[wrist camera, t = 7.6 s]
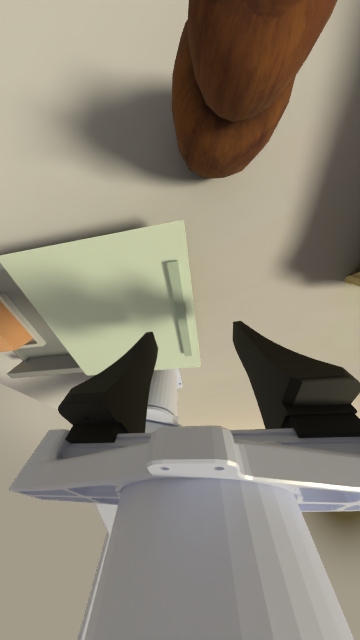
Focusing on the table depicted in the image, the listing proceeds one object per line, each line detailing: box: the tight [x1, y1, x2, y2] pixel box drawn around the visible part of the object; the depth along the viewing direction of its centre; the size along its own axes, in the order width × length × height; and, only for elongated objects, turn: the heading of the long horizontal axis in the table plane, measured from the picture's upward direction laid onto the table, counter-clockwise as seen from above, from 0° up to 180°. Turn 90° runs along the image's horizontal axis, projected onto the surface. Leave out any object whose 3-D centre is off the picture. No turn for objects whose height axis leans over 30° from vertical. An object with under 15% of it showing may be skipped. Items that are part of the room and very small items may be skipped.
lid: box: [0, 220, 201, 376], centre depth 17 cm, size 18×18×1 cm
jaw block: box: [0, 301, 33, 352], centre depth 22 cm, size 7×3×3 cm, turn 9°
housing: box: [0, 263, 83, 378], centre depth 21 cm, size 18×21×5 cm
